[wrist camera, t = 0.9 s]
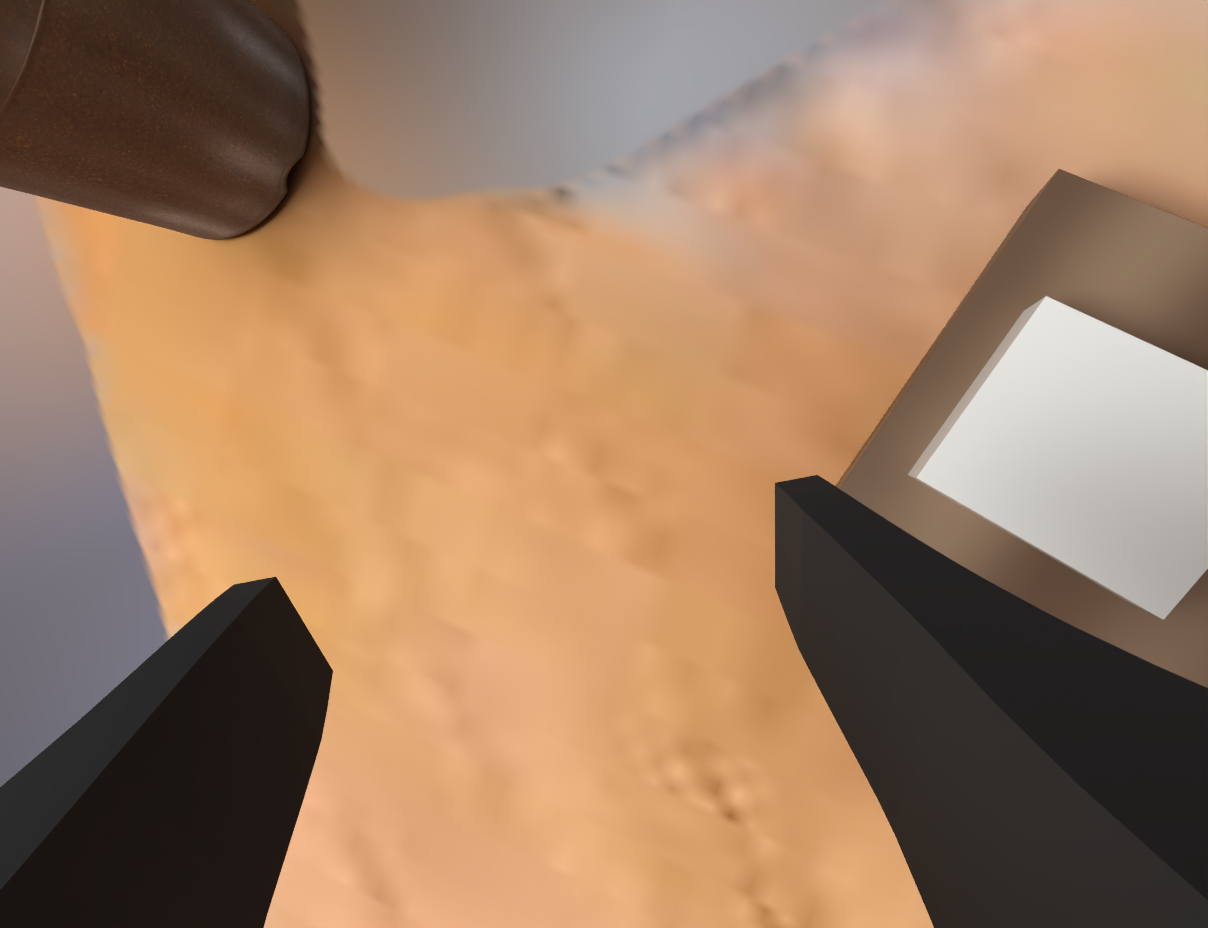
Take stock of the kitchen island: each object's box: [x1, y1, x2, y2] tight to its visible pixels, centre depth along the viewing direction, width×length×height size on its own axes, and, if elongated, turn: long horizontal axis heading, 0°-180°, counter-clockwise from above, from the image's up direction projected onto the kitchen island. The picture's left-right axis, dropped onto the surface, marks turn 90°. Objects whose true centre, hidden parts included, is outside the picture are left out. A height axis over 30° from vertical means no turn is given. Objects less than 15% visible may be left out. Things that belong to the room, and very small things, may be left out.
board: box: [836, 169, 1208, 688], centre depth 19 cm, size 14×14×3 cm
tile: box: [908, 296, 1208, 620], centre depth 17 cm, size 7×6×2 cm
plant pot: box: [0, 0, 310, 240], centre depth 26 cm, size 16×16×16 cm
